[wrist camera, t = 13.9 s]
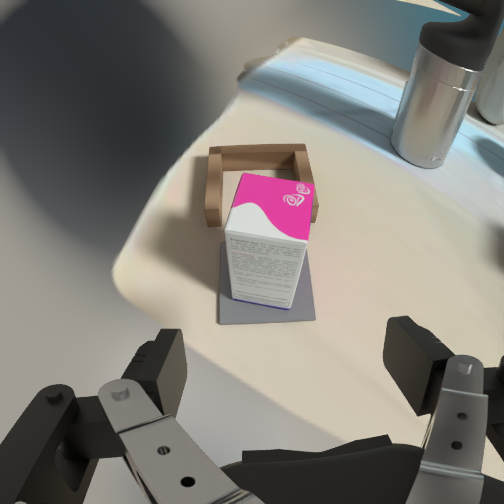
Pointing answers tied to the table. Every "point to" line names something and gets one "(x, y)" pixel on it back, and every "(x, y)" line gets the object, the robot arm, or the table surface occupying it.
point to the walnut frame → (253, 160)
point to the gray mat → (261, 314)
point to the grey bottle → (492, 85)
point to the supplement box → (267, 239)
